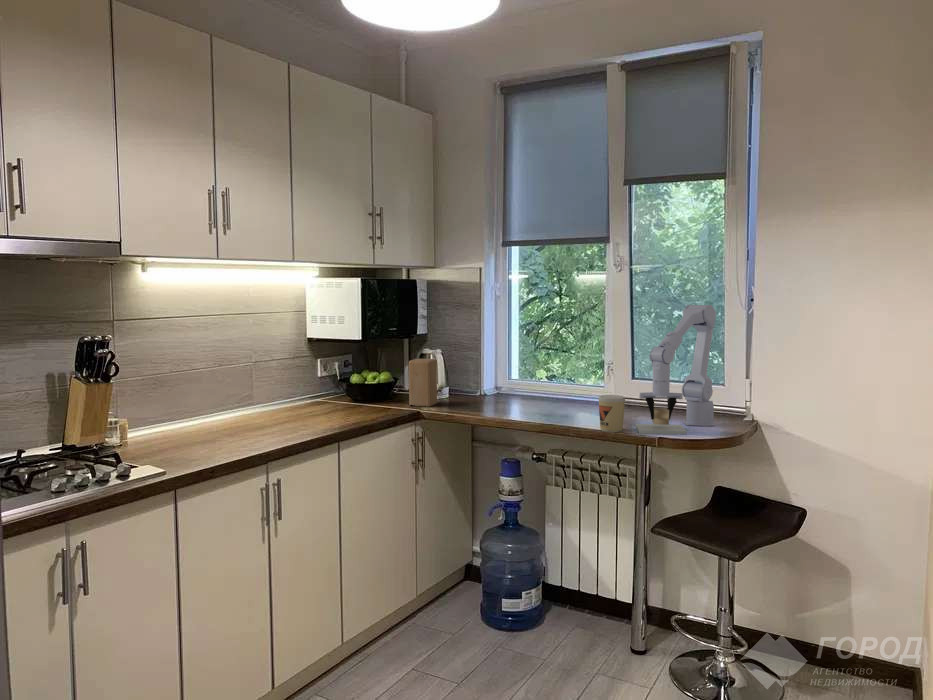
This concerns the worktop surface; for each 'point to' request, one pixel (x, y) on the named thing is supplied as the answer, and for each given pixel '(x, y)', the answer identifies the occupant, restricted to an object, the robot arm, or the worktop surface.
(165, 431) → the worktop surface
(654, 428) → the gray board
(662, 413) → the maple cube
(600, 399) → the coffee cup
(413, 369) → the wooden block
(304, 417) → the worktop surface
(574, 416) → the worktop surface
